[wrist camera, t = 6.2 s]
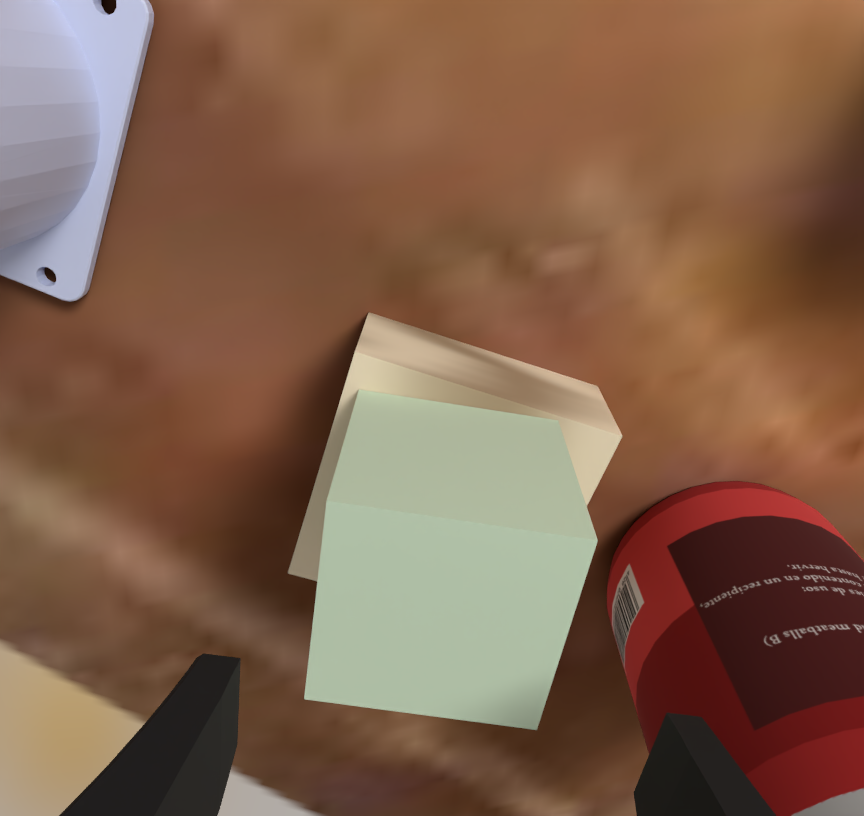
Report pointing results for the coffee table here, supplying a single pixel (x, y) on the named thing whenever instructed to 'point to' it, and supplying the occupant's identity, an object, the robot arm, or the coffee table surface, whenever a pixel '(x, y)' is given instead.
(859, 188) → the coffee table surface
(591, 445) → the maple slab
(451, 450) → the sage cube
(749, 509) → the canned food
